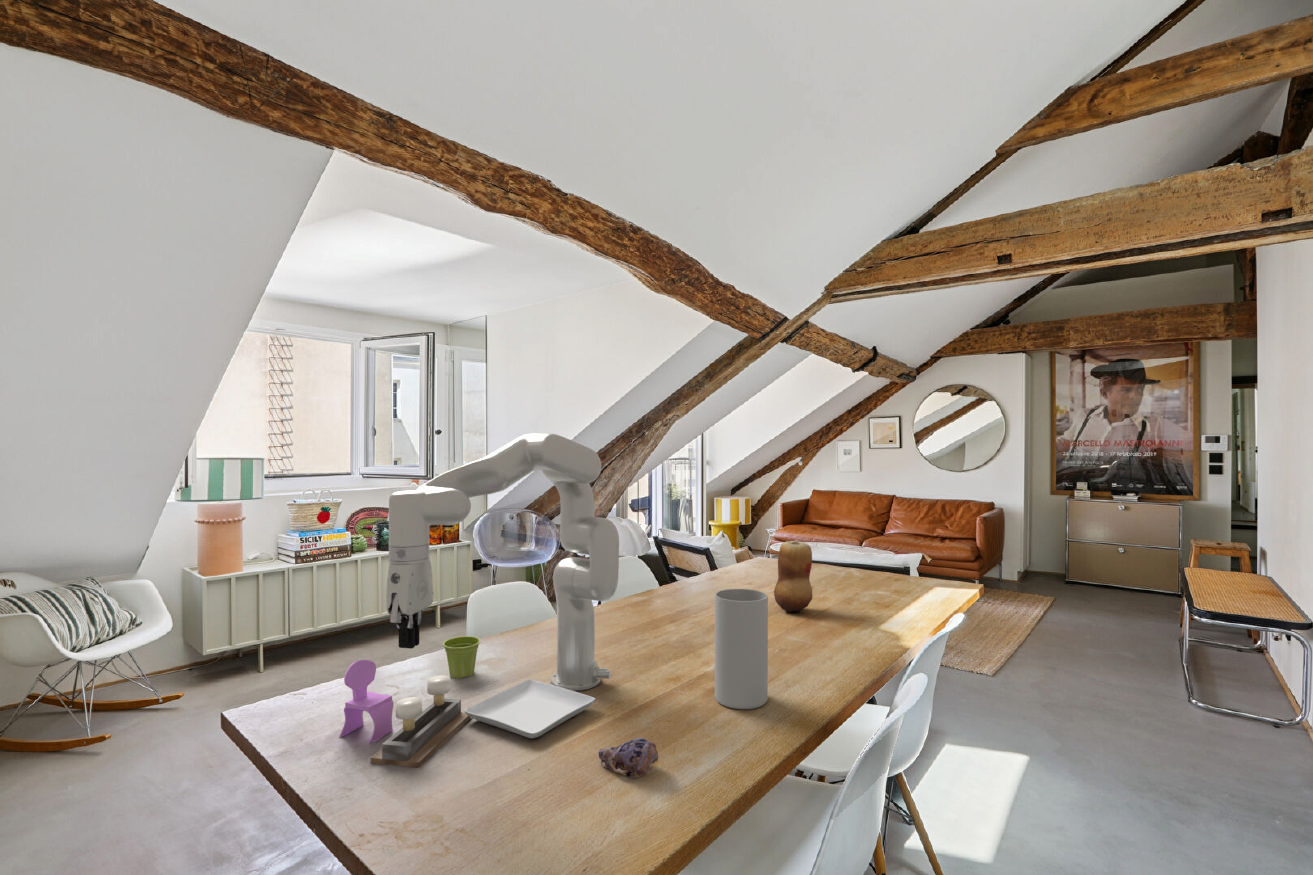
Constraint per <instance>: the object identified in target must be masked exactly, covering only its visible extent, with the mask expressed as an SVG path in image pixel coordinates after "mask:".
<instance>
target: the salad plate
mask: <svg viewBox="0 0 1313 875" xmlns="http://www.w3.org/2000/svg"><path fill="white" fill-rule="evenodd" d="M595 701H596V698H595V697H593V696H591V695H588V694H585V693H582V692H579V691H571V690H568V689H565V688H561V687H558V686H554V685H551V683H546V682H543V681H540V680H535V679H532V678H531V679H530V678H529V679H527V680H524V681H522V682H519V683H518V684H516V685H513V686H511V687H510V688H507V689H505V690H502V691H501V692H498V693H496V694H494V695H492V696H490V697H488V698H485V699H484V700H482V701H480V702H477V703H475V704H473V705H471V706H470V707H467V708H465V709H464V711H463V712H464V713H466V714H467V715H468V716H469V717H471V718H470V719H473V720H475V721H478V722H480V723H481V722H482V723H484V724H488V725H491V726H494V727H497V728H500V729H502V730H505V731H508V732H512V733H514V734H518V735H520V736H523V737H525V738H529V739H536V738H539V737H541V736H543V735H544V734H546V733H548V732H549V731H550V730H552V729H554V728H555V727H558V726H559V725H561V724H563V723H564V722H566V721H567V720H570V719H571V718H572V717H573V718H574V717H575V716H577V715H578V714H580V713H582V712H584V711H585V710H587V709H588V708H589V707H591V706H592V705H593V704H594V703H595Z"/></svg>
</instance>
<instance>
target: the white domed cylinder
mask: <svg viewBox="0 0 1313 875" xmlns="http://www.w3.org/2000/svg"><path fill="white" fill-rule="evenodd" d="M422 701H423V700H422V698H421V697H418V696H417V697H415V696H414V697H413V696H412V697H411V696H410V697H405V698H401V699H399V700H397V702H395V718H396V719H398V720H402V728H403V730H404V731H410V730H413V729H414V728H415V718H416V717H418V716H420V715H421V713H422V712H423V711H422V710H423V702H422Z"/></svg>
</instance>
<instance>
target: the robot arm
mask: <svg viewBox="0 0 1313 875" xmlns="http://www.w3.org/2000/svg"><path fill="white" fill-rule="evenodd" d="M537 470H538V471H539V470H541V471H542V473H543V474H544V476H545V477H546V478H547V479H548V480H549V481H550V482H552V484H553V485H554V486H555V488H556V490H557V491H558V494H559V499H560V500H559V501H560V514H559V515H560V522H559V540H560V545H561V547H562V548H563V549H565V551H567V552H571V553H575V554H580V555H587V556H589V558H583V557H574V556H570V557H565V558H563V559H561V560H560V561H559V562H558V563H556V565H555V567H554V570H553V573H552V574H553V575H552V582H553V583H552V584H553V588H554V594H555V600H556V672H555V673H554V674H552V675H551V677H550V684H551V685H554V686H558V687H561V688H565V689H568V690H571V691H575V692H579V691H585V690H590V689H592V688H594V687H596V686H597V685H598V686H599V684H600V683H601V679H606V680H607V679H609V680H610V679H611V674H612V673H611V670H609V668H608V667H600V666H598V665H599V664H598V662H599V661H595V619H596V618H595V607H594V604H593V601H597V602H606V601H608V600H610V599H611V598H612V597H613V596H614V594H615V593H616V590H617V587H618V583H619V569H620V568H619V567H620V566H619V565H620V536H619V532H618V528H617V527H616V524H614V522H613V521H611V520H610V519H608V518H604V517H601V516H600V517H599V516H595V503H594V501H595V498H594V492H593V489H592V486H591V484H590V483H592V482H595V480H597V479H598V478H599V477H600V474H601V471H602V461H601V458H600V457H599V454H598V453H597V452H596V451H595V450H593V449H592V448H590V447H588V446H586V445H583V444H581V443H579V442H576V441H574V440H571V439H569V438H567V437H564V436H562V435H559V434H557V433H556V434H555V433H525V434H523V435H521V436H519V437H517V438H515V439H514V440H512V441H510V442H508V443H507V444H505V445H504V446H502V447H500V448H498V449H497V450H495V451H493V452H492V453H490V454H488V455H486V456H484V457H482V458H479V459H477V460H474V461H471V462H469V463H466V464H464V465H461V466H459V467H455V468H453V469H451V470H447V471H446V472H443V473H441V474H439V475H437V476H435V477H434V478H432V479H430V480H429V481H427V482H425V483H424V484H422V485H420V486H418V487H417V489H415V490H401V491H399V490H398V491H394V492H393V493H391V494H390V496H389V498H388V563H389V565H388V570H387V572H388V573H387V580H386V595H385V596H386V598H385V599H386V600H385V601H386V602H385V604H386V612H387V614H388V615H390V618H389V622H390V623H391V624H392V623H393V624H396V628H397V629H398V648H400V649H414V648H415V647H416V646H419V645H420V625H421V623H422V615H423V612H424V611H425V610H426V609H427V608H428V607H430V606H431V605H433V602H434V583H433V570H432V563H431V559H430V526H435V525H436V526H438V525H439V526H453V525H457V524H460V523H462V522H463V521H465V520H466V519H467V517H468V516H469V514H470V512H471V508H472V504H471V499H470V498H474V497H480V496H486V495H493V494H496V493H499V492H503V491H504V490H507V489H508V488H510V487H511V486H513V485H514V484H515V483H517V482H518V481H520V480H521V479H524V478H525V477H527V476H528V475H529V474H531V473H532V472H534V471H537ZM592 600H593V601H592Z"/></svg>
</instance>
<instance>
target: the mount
mask: <svg viewBox="0 0 1313 875" xmlns="http://www.w3.org/2000/svg"><path fill="white" fill-rule="evenodd" d="M470 719H472V718H471V717H469V716H468V715H467V714H466V713H465V712H464V711H463V712H462V700H461V699H457V698H456V699H454V698H444V704H443V705H440V706H435V705H434V702H433V703H431V704H430V705H428V706H427V707H426V708H425V709H424V710H423V711H422V713H421V715H420V716H418V717H416V718H415V728H414V729H413V730H410V731H404V730H403V727H401V728H400V729H399V730H398V731H396V732H395V733H394V734H393V735H392V736H390V737H389V738H388V739H387V740H386V741H384V742H382V744H381V749H379V750H378V751H377V752H375V754H373V755H372V756H371V757H370V764H377V765H378V764H379V765H385V766H386V765H388V766H399V767H409V768H410V767H411V768H420V767H421V766H422V765H423V764H424V763H425V762H426V761H427V760H429V758H431V757H432V756H433V755H434V754H435V753H436V752H437V751H438V750H439V749H440V748H441V747H442V746H443V745H444V744H445V743H446V742H447V741H449V739H450V738H451V737H453V735H455V734H456V733H457V732H458V731H459V730H460V729H461V728H462V727H463V726H464V725H465V724H466V723H467V722H468V721H469V720H470Z"/></svg>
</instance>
